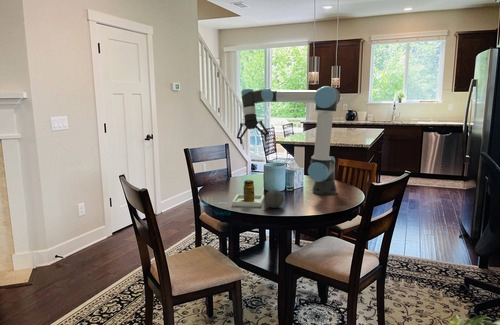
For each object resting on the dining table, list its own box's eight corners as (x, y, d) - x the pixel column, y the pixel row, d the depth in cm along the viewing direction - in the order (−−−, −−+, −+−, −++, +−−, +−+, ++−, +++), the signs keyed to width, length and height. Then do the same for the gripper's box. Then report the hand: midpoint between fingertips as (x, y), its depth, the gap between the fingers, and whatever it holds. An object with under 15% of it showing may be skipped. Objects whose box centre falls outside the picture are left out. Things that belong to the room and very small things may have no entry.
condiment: (257, 202, 199) (257, 181, 197) (244, 204, 194) (244, 183, 192) (250, 199, 205) (250, 179, 203) (237, 201, 200) (237, 181, 198)
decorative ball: (261, 208, 189) (261, 190, 187) (271, 203, 197) (271, 186, 195) (278, 211, 184) (278, 193, 182) (287, 206, 192) (287, 188, 190)
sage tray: (264, 199, 207) (264, 195, 206) (261, 207, 191) (261, 202, 191) (237, 198, 209) (237, 194, 209) (232, 206, 194) (232, 201, 193)
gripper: (269, 112, 222) (273, 145, 223) (230, 117, 221) (234, 150, 222) (270, 110, 215) (274, 145, 216) (229, 115, 214) (234, 150, 215)
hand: (254, 148), depth 219 cm, fingers open, 13 cm apart
